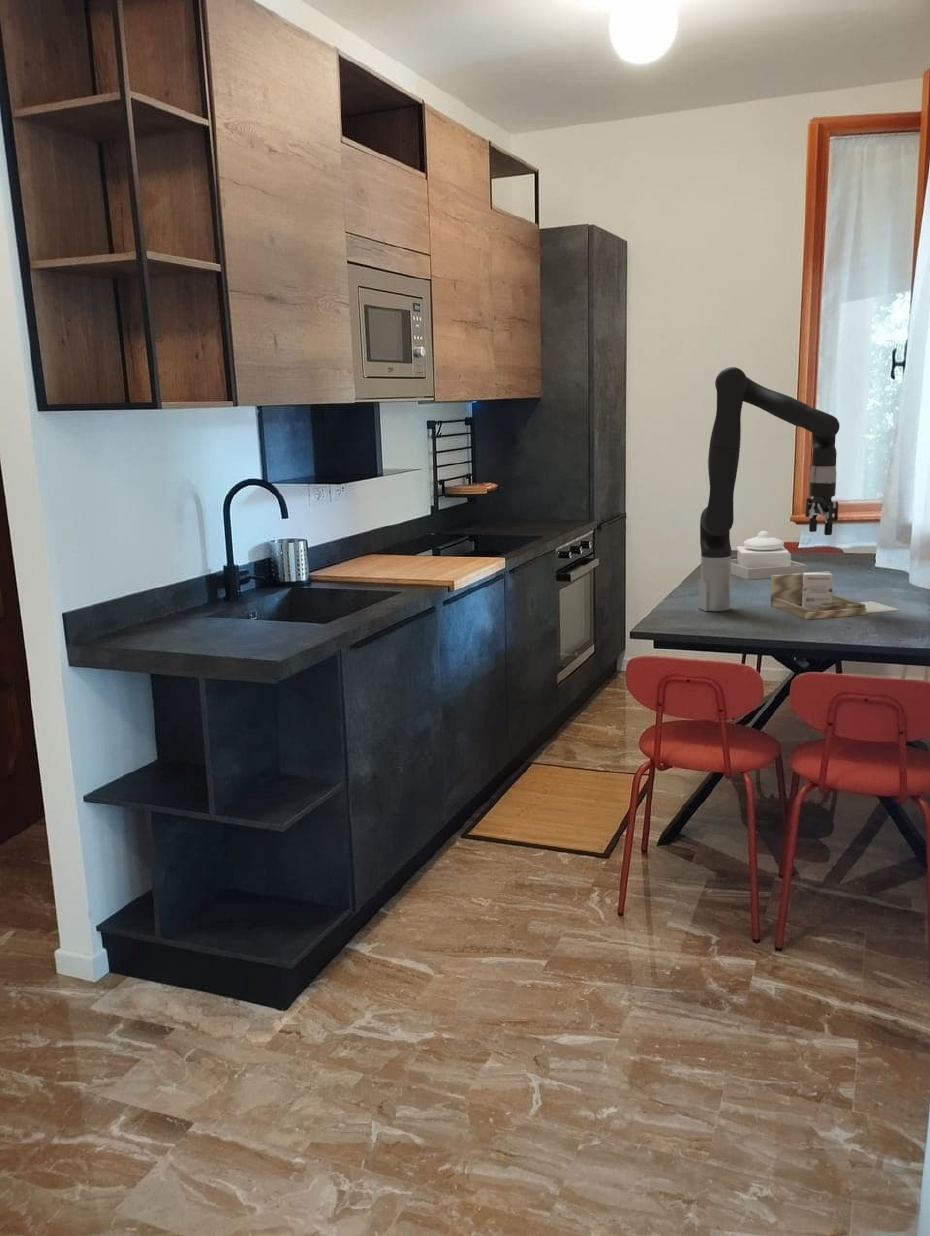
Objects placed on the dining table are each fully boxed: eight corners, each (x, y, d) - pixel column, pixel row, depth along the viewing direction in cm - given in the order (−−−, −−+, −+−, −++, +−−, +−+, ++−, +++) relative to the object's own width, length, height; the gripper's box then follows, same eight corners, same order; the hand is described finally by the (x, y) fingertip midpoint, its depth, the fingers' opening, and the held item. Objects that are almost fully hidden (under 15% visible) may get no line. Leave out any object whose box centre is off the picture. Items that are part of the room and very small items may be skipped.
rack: (805, 619, 302) (807, 586, 300) (770, 606, 323) (771, 575, 321) (865, 614, 306) (867, 582, 304) (827, 601, 327) (828, 571, 325)
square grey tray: (748, 579, 370) (748, 569, 369) (720, 570, 392) (720, 560, 391) (806, 575, 374) (806, 564, 373) (775, 566, 396) (775, 556, 396)
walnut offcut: (822, 611, 304) (822, 607, 304) (818, 610, 306) (818, 605, 306) (842, 609, 306) (843, 605, 306) (838, 608, 308) (838, 603, 308)
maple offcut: (849, 615, 306) (850, 605, 306) (845, 613, 309) (846, 604, 308) (858, 614, 307) (859, 604, 306) (854, 612, 309) (855, 603, 308)
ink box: (830, 608, 316) (831, 571, 314) (831, 612, 311) (833, 574, 309) (801, 608, 318) (802, 571, 316) (802, 611, 313) (804, 574, 311)
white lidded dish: (790, 576, 373) (791, 533, 370) (740, 576, 376) (741, 534, 373) (783, 568, 390) (784, 527, 387) (735, 568, 393) (736, 528, 390)
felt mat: (863, 613, 307) (863, 612, 307) (838, 605, 320) (838, 604, 320) (899, 610, 309) (899, 609, 309) (872, 602, 323) (872, 601, 322)
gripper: (799, 479, 314) (797, 531, 317) (825, 483, 300) (822, 536, 303) (821, 478, 315) (818, 530, 319) (847, 482, 302) (844, 535, 305)
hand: (820, 533), depth 311 cm, fingers open, 8 cm apart
